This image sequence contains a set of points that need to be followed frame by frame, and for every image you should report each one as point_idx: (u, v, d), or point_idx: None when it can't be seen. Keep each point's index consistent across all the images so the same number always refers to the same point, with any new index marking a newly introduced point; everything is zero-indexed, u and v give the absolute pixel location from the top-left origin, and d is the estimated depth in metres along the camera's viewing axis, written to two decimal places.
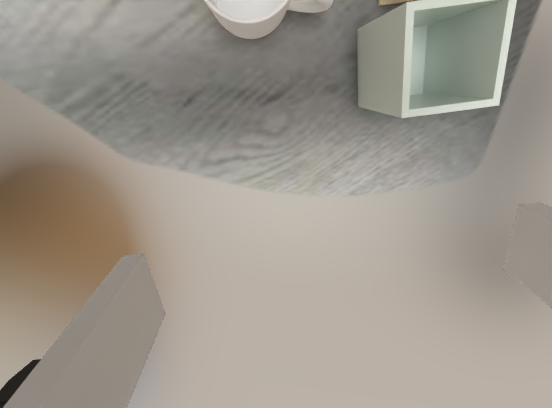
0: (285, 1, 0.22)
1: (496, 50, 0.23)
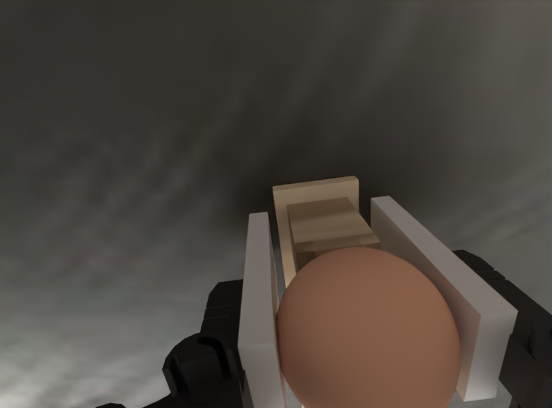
0: None
1: None
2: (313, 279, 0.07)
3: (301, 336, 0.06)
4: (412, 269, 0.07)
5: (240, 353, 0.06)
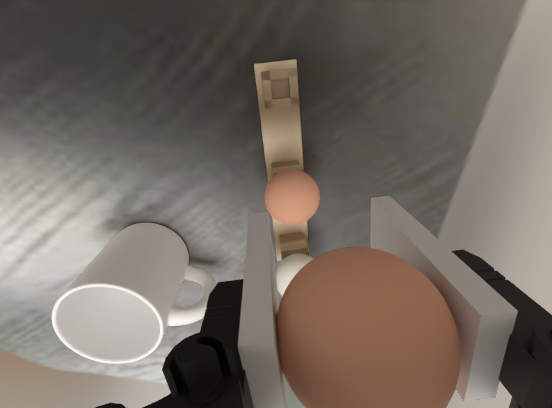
0: (153, 350, 0.24)
1: None
2: (313, 279, 0.07)
3: (301, 335, 0.06)
4: (412, 269, 0.07)
5: (240, 353, 0.06)
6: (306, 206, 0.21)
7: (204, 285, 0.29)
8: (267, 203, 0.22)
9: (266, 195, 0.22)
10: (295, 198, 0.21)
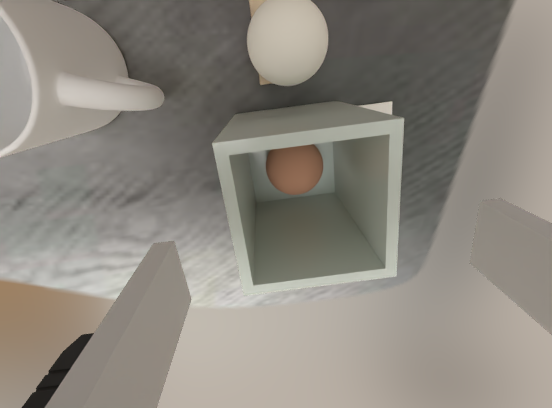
0: (27, 130, 0.13)
1: (383, 202, 0.14)
2: None
3: (272, 156, 0.21)
4: None
5: None
6: None
7: None
8: None
9: None
10: None
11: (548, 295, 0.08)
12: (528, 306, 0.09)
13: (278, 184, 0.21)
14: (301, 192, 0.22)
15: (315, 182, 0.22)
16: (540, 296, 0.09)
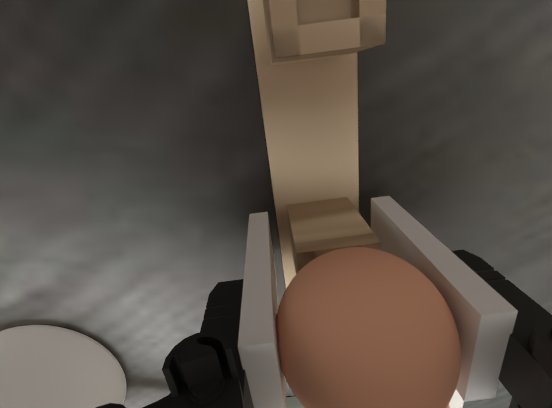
0: None
1: None
2: None
3: None
4: None
5: (240, 353, 0.06)
6: None
7: None
8: (287, 373, 0.07)
9: (283, 345, 0.07)
10: (400, 391, 0.05)
11: None
12: None
13: None
14: None
15: None
16: None
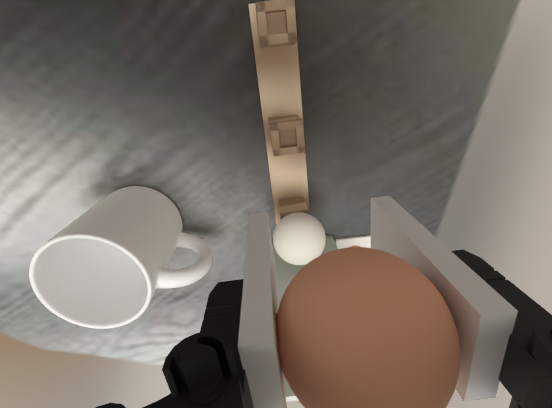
0: (141, 313, 0.22)
1: None
2: None
3: None
4: None
5: (240, 353, 0.06)
6: None
7: (198, 251, 0.27)
8: (286, 373, 0.07)
9: (283, 345, 0.07)
10: (399, 391, 0.05)
11: None
12: None
13: None
14: None
15: None
16: None
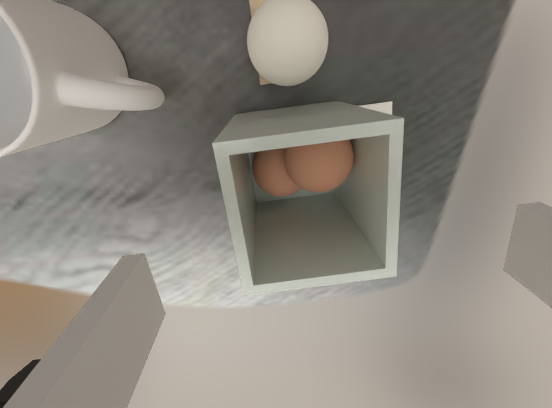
0: (27, 130, 0.13)
1: (383, 202, 0.14)
2: None
3: (254, 156, 0.22)
4: None
5: None
6: None
7: None
8: (335, 142, 0.17)
9: None
10: None
11: None
12: None
13: (257, 183, 0.22)
14: (278, 194, 0.22)
15: (291, 187, 0.21)
16: None
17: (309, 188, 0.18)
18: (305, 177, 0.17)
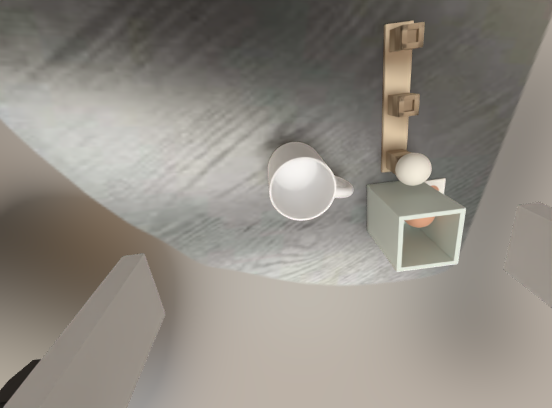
0: (326, 209, 0.37)
1: (454, 235, 0.38)
2: None
3: None
4: None
5: None
6: None
7: (340, 182, 0.42)
8: None
9: None
10: None
11: None
12: None
13: None
14: None
15: None
16: None
17: (416, 226, 0.41)
18: (416, 222, 0.41)
